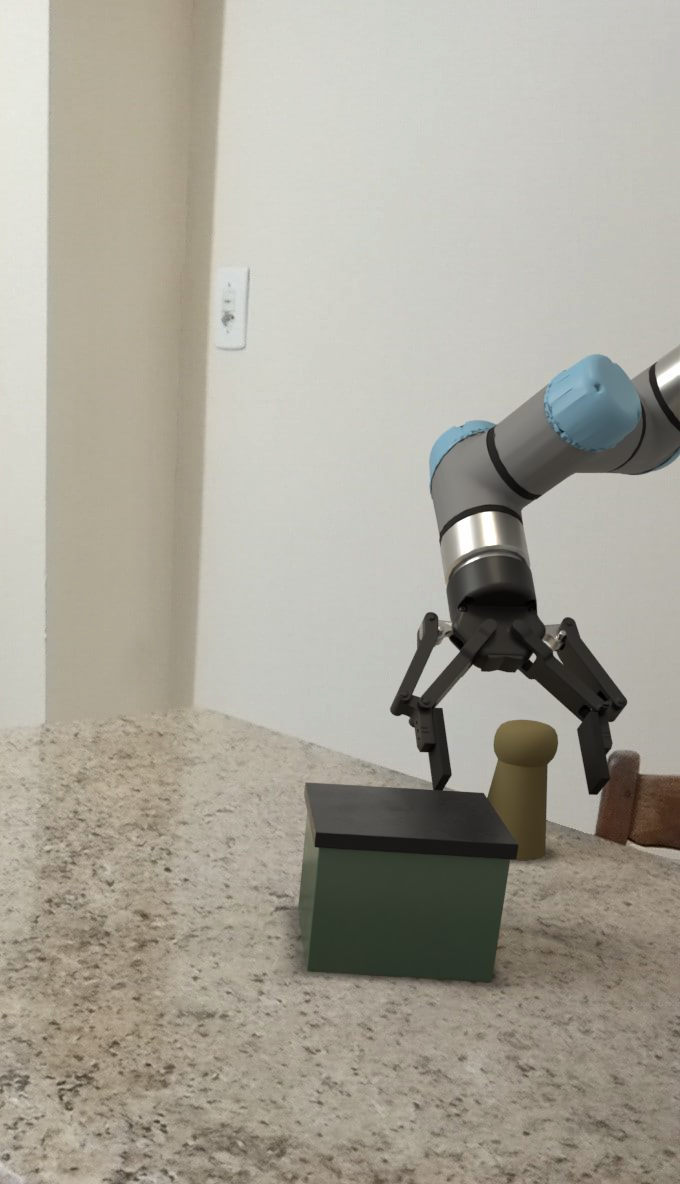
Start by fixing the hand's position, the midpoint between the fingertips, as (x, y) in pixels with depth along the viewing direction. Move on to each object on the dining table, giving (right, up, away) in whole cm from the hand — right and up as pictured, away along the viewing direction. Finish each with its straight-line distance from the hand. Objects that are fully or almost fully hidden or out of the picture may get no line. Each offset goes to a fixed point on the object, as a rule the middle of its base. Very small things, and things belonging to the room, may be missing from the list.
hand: (521, 785), depth 115 cm
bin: (-15, -13, -20) cm, 28 cm away
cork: (0, -5, +3) cm, 6 cm away
